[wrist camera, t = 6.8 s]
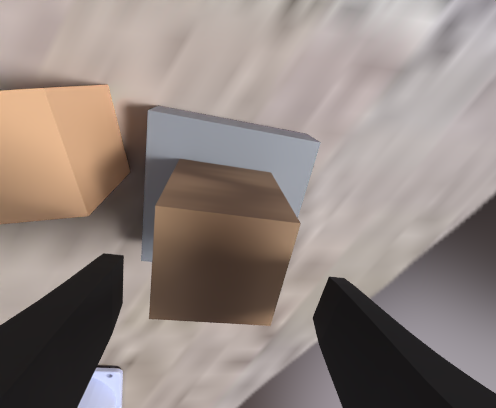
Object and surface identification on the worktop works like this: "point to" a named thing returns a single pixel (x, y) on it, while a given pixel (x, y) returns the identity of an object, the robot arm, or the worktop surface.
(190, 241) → the walnut cube
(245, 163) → the gray slab
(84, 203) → the orange faceted block
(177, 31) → the worktop surface
